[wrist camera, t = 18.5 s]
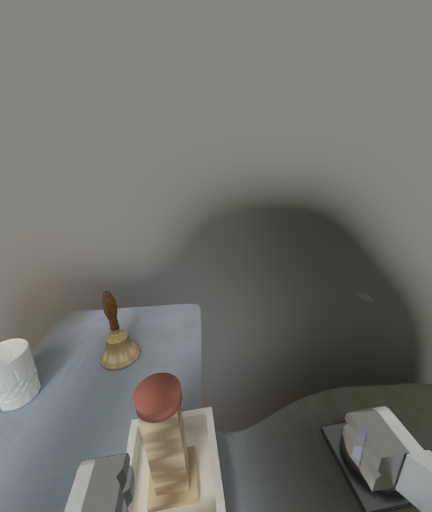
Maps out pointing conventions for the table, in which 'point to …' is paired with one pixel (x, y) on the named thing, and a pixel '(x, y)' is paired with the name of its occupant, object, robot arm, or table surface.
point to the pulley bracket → (361, 476)
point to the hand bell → (117, 339)
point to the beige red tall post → (166, 443)
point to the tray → (207, 462)
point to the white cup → (17, 375)
